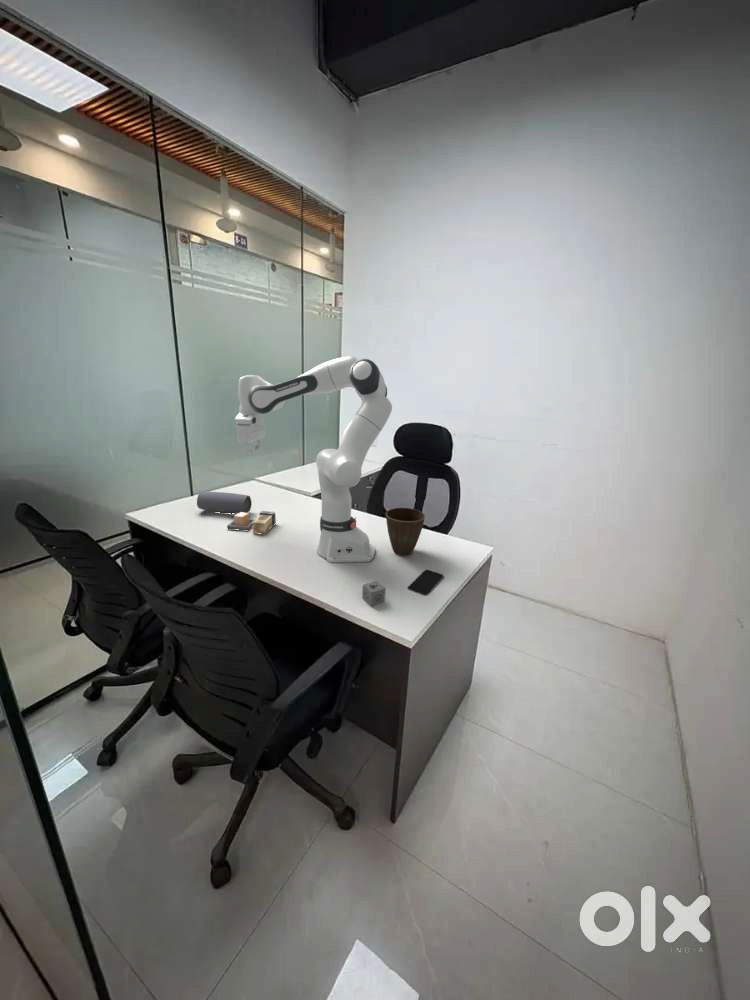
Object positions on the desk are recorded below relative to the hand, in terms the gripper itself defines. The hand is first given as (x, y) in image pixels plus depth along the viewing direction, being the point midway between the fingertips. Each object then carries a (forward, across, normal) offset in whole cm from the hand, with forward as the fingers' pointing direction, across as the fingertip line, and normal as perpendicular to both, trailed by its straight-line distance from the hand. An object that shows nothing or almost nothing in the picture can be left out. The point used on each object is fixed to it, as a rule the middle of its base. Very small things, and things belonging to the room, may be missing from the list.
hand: (253, 451), depth 150 cm
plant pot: (+33, +14, +64) cm, 74 cm away
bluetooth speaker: (+33, -12, -20) cm, 41 cm away
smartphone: (+34, +36, +72) cm, 87 cm away
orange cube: (+32, +2, -6) cm, 33 cm away
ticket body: (+33, +2, +4) cm, 33 cm away
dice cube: (+33, +48, +55) cm, 81 cm away
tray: (+33, +2, -6) cm, 34 cm away
